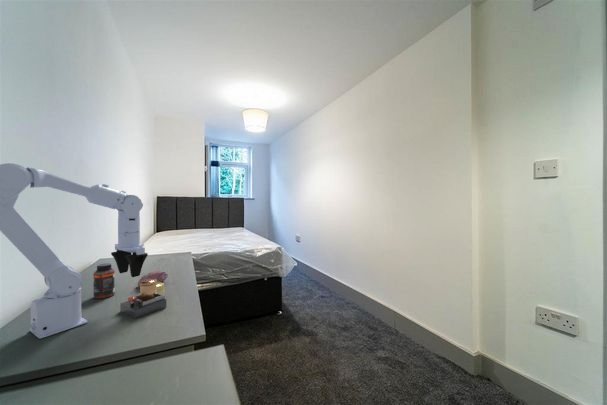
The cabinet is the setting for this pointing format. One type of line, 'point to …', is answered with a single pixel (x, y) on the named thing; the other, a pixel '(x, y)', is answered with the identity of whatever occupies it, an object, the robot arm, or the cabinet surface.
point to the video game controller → (155, 276)
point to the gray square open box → (142, 305)
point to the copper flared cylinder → (148, 289)
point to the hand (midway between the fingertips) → (129, 274)
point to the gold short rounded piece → (160, 288)
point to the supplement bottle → (104, 281)
